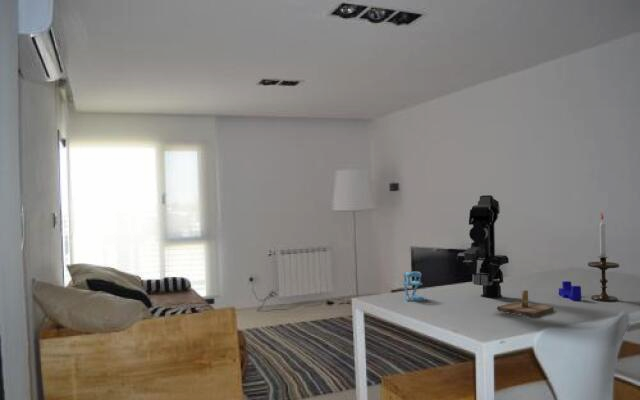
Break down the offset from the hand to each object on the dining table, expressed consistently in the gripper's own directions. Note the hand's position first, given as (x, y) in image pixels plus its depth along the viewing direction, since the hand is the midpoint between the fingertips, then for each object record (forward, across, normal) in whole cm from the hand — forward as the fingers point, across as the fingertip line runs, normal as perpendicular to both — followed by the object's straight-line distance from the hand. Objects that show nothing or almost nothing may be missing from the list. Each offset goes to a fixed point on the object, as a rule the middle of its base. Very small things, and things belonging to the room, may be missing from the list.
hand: (482, 281), depth 180 cm
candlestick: (+11, +22, +50) cm, 55 cm away
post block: (+11, +11, +10) cm, 18 cm away
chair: (+11, -32, -4) cm, 34 cm away
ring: (+1, 0, 0) cm, 1 cm away
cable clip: (+11, +11, +43) cm, 46 cm away
